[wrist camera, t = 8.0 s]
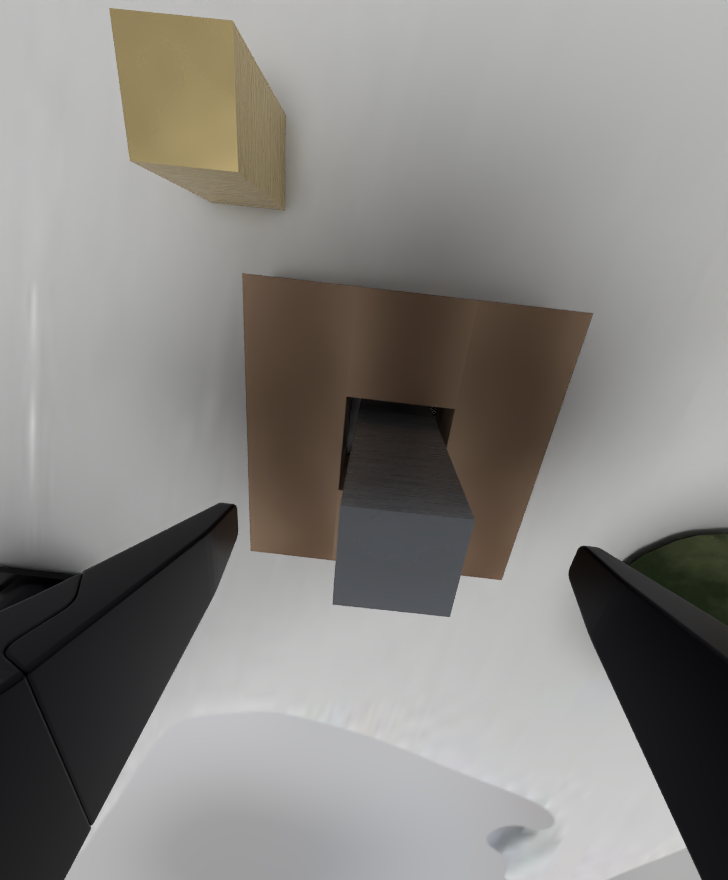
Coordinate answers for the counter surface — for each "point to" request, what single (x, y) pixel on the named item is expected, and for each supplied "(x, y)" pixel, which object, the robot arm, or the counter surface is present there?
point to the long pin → (400, 515)
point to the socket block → (397, 380)
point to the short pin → (199, 108)
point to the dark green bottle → (692, 571)
